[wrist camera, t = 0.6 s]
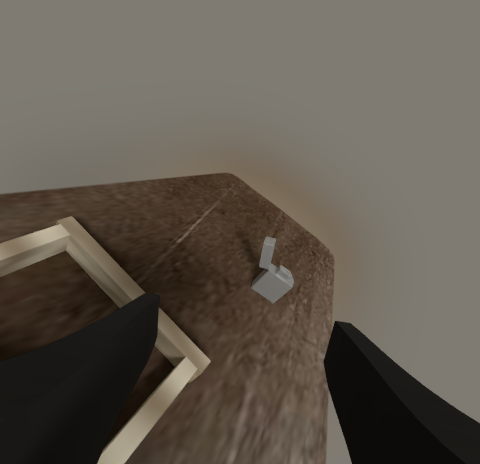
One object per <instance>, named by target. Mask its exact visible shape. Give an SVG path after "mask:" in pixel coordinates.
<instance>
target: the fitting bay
mask: <svg viewBox="0 0 480 464" xmlns="http://www.w3.org/2000/svg"><path fill="white" fill-rule="evenodd" d="M63 251H67V252H68V253H69V254H70V255H71V257H72V258H73V259H74V260H75V261H76V262H77V263H78V264H79V265H80V266H81V267H82V268H83V269H84V270H85V271H86V273H87V274H88V275H89V276H90V277H91V278H92V279H93V280H94V281H95V282H96V283H97V284H98V285H99V286H100V288H101V289H102V290H103V291H104V292H105V293H106V294H107V295H108V296H109V297H110V298H111V299H112V300H113V301H114V302H115V304H116V305H117V306H118V307H119V308H121V307H123V306H124V305H126V304H127V303H129V302H131V301H132V300H134V299H136V298H137V297H139V296H141V295H142V294H144V293H145V292H144V291H143V290H142V289H141V288H140V287H139V286H138V285H137V284H136V283H135V282H134V281H133V279H132V278H131V277H130V276H129V275H128V274H127V273H126V272H125V271H124V270H123V269H122V268H121V267H120V266H119V265H118V264H117V263H116V262H115V261H114V260H113V259H112V258H111V256H110V255H109V254H108V253H107V252H106V251H105V250H104V249H103V248H102V247H101V246H100V245H99V244H98V243H97V242H96V241H95V240H94V239H93V238H92V237H91V236H90V235H89V234H88V232H87V231H86V230H85V229H84V228H83V227H82V226H81V225H80V224H79V223H78V222H77V221H76V220H75V219H74V218H73V217H72V216H70V217H67V218H64V219H61V220H57V223H56V226H53V227H50V228H47V229H44V230H41V231H37V232H34V233H31V234H28V235H25V236H22V237H19V238H16V239H13V240H9V241H6V242H3V243H0V277H2V276H4V275H7V274H9V273H12V272H14V271H16V270H19V269H21V268H24V267H26V266H29V265H31V264H34V263H36V262H39V261H41V260H43V259H46V258H48V257H51V256H53V255H56V254H58V253H61V252H63ZM155 346H156V347H157V348H158V350H159V351H160V352H161V353H162V354H163V355H164V356H165V357H166V358H167V359H168V360H169V361H170V362H171V363H172V364H173V366H174V367H175V368H174V369H173V370H172V371H171V372H170V373H169V375H168V376H167V377H166V378H165V379H164V380H163V381H162V383H161V384H160V385H159V386H158V387H157V388H156V389H155V391H154V392H153V393H152V394H151V395H150V396H149V397H148V399H147V400H146V401H145V402H144V403H143V404H142V405H141V407H140V408H139V409H138V410H137V411H136V412H135V413H134V415H133V416H132V417H131V418H130V419H129V420H128V421H127V423H126V424H125V425H124V426H123V427H122V428H121V429H120V431H119V432H118V433H117V434H116V435H115V436H114V437H113V439H112V440H111V441H110V442H109V443H108V444H107V445H106V447H105V448H104V449H103V451H102V454H101V456H100V458H99V461H98V463H97V464H124V463H125V462H126V461H127V459H128V458H129V457H130V455H131V454H132V453H133V452H134V450H135V449H136V448H137V446H138V445H139V444H140V443H141V441H142V440H143V439H144V437H145V436H146V435H147V434H148V432H149V431H150V430H151V428H152V427H153V426H154V425H155V423H156V422H157V421H158V419H159V418H160V417H161V416H162V414H163V413H164V412H165V410H166V409H167V408H168V407H169V405H170V404H171V403H172V401H173V400H174V399H175V398H176V396H177V395H178V394H179V392H180V391H181V390H182V389H183V387H184V386H185V385H186V383H187V382H189V383H190V382H191V381H193V380H194V379H195V378H196V377H198V376H199V375H200V374H201V373H202V372H203V371H204V369H205V368H206V367H207V365H208V364H209V363H210V360H209V359H208V358H207V357H206V356H205V355H204V354H203V353H202V351H201V350H200V349H199V348H198V347H197V346H196V345H195V344H194V343H193V342H192V341H191V340H190V339H189V338H188V337H187V336H186V335H185V334H184V333H183V332H182V331H181V330H180V329H179V327H178V326H177V325H176V324H175V323H174V322H173V321H172V320H171V319H170V318H169V317H168V316H167V315H166V314H165V313H164V312H163V311H162V310H161V309H160V308H159V315H158V334H157V339H156V342H155Z"/></svg>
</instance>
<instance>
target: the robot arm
mask: <svg viewBox="0 0 480 464" xmlns="http://www.w3.org/2000/svg"><path fill="white" fill-rule="evenodd" d="M159 296H160V295H154V294H147V293H144V294H142V295H141V296H139V297H137V298H136V299H134V300H132V301H131V302H129V303H127V304H126V305H124V306H123V307H121V308H119V309H118V310H116V311H114V312H112V313H111V314H109V315H107V316H106V317H104V318H102V319H100V320H98V321H96V322H94V323H93V324H91V325H89V326H87V327H85V328H83V329H81V330H79V331H77V332H75V333H73V334H71V335H69V336H66V337H64V338H62V339H60V340H57V341H55V342H53V343H50V344H48V345H45V346H42V347H40V348H37V349H34V350H32V351H29V352H26V353H23V354H21V355H18V356H15V357H12V358H9V359H6V360H3V361H0V464H97V463H98V461H99V458H100V456H101V454H102V451H103V449H104V447H105V444H106V442H107V440H108V437H109V435H110V433H111V430H112V428H113V426H114V424H115V422H116V420H117V418H118V416H119V414H120V412H121V410H122V408H123V406H124V405H125V403H126V401H127V399H128V397H129V395H130V393H131V392H132V390H133V388H134V386H135V384H136V382H137V381H138V379H139V377H140V375H141V373H142V371H143V369H144V368H145V366H146V364H147V362H148V360H149V357H150V355H151V352H152V350H153V347H154V345H155V342H156V339H157V334H158V315H159ZM324 367H325V373H326V378H327V383H328V388H329V391H330V394H331V397H332V401H333V404H334V407H335V410H336V413H337V416H338V419H339V423H340V426H341V429H342V432H343V435H344V438H345V441H346V444H347V447H348V451H349V455H350V458H351V461H352V464H480V423H478V422H477V421H475V420H473V419H472V418H470V417H469V416H467V415H465V414H464V413H462V412H461V411H459V410H458V409H456V408H455V407H453V406H452V405H450V404H449V403H447V402H446V401H445V400H443V399H442V398H440V397H439V396H438V395H436V394H434V393H433V392H432V391H430V390H429V389H428V388H426V387H425V386H424V385H422V384H421V383H420V382H419V381H417V380H416V379H415V378H414V377H412V376H411V375H409V373H407V372H406V371H405V370H404V369H402V368H401V367H400V366H399V365H398V364H396V363H395V362H394V361H393V360H392V359H391V358H389V357H388V356H387V355H386V354H385V353H384V352H382V351H381V350H380V349H379V348H378V347H377V346H376V345H375V344H374V343H373V342H371V341H370V340H369V339H368V338H367V337H366V336H365V335H364V334H363V333H361V332H360V331H359V330H358V329H357V328H355V327H354V326H353V325H352V324H351V323H345V322H339V321H335V323H334V326H333V330H332V334H331V337H330V341H329V344H328V348H327V352H326V355H325V359H324Z"/></svg>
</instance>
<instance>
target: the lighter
mask: <svg viewBox="0 0 480 464" xmlns="http://www.w3.org/2000/svg"><path fill="white" fill-rule="evenodd" d="M275 242H276V239H274V238H270V237H266V239H265V241H264V245H263V250H262V255H261V260H260V264H259V267H261V268H264V270H263V271H262V272H261V273H260V274H259V275H258V276H257V277H256V278H255V279H254V280H253V282H252V285H251V288H252V289H253V290H255V291H256V292H258V293H259V294H261V295H262V296H263V297H265V298H266V299H268V300H269V301H271V302H272V303H275V302H276V301H277V300H278V299H279V298H281V297H282V296H283V295H284V294H285V293H286V292H288V291H289V290H290V289H291V288H292V287H293V283H294V280H293V279H292V275H291V272H290V271H289V270H287V269H286V268H285V267H283V266H282V265H280V266H279V267H278V268H277V267H276V266H274V265H273V264H270V263H271V259H272V255H273V250H274V246H275Z"/></svg>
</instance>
